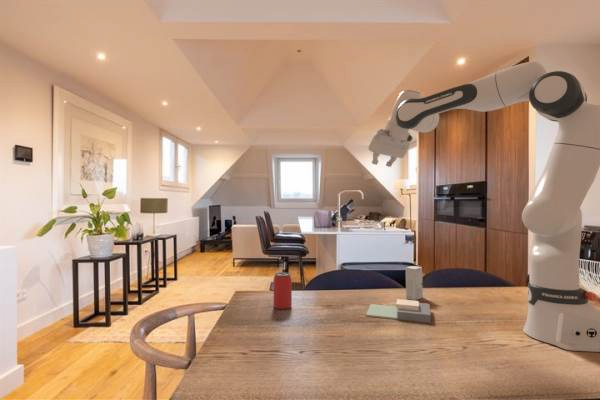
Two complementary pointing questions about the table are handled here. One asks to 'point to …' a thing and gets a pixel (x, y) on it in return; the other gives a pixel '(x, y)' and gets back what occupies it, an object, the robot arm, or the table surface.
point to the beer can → (282, 291)
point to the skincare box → (414, 283)
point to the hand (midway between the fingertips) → (381, 165)
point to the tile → (407, 304)
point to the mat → (382, 311)
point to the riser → (416, 314)
